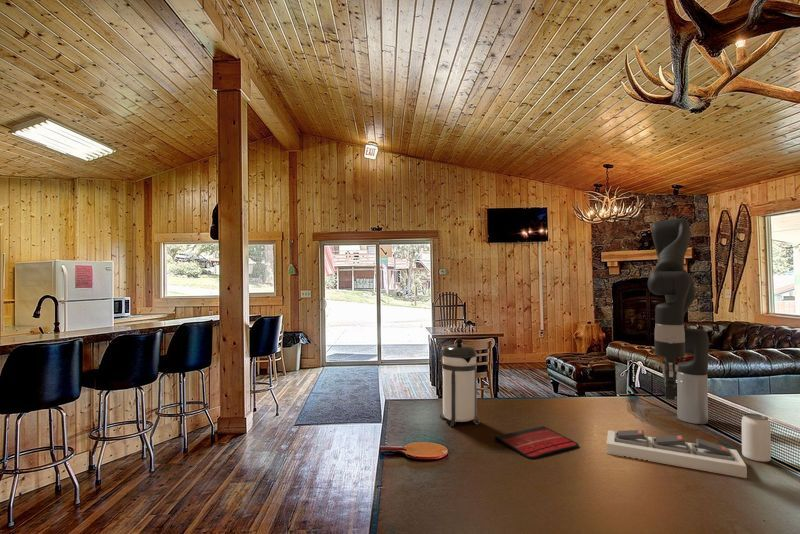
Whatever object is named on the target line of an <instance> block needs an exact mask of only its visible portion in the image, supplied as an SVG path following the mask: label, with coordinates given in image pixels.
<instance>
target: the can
mask: <svg viewBox="0 0 800 534" xmlns="http://www.w3.org/2000/svg"><path fill="white" fill-rule="evenodd" d="M771 431H772V430H771V423H770V421H769V417H768V416H765V415H762V414H758V413H750V412H744V413H743V415H742V417H741V455H742V456H743V457H744V458H745V459H748V460H751V461H754V462H760V463H768V462H770V461H772V460H771V459H772V451H771V449H772V447H771V446H772V444H771V443H772V442H771V439H772V438H771Z"/></svg>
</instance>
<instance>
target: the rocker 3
mask: <svg viewBox="0 0 800 534" xmlns="http://www.w3.org/2000/svg"><path fill="white" fill-rule="evenodd" d="M695 444H697V446H698V447H699V448H702V449H705V450H708V451H711V452H714V453H717V454H720V455H723V456H729V451H728V450H727V449H728V448H727V447H726V446H723V445H721V444H717V443H715V442H711V441H708V440H705V439H701V438H699V437H696V439H695Z"/></svg>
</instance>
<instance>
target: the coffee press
mask: <svg viewBox="0 0 800 534" xmlns="http://www.w3.org/2000/svg"><path fill="white" fill-rule="evenodd" d="M455 342H456V343H454V344H448V345H446V346H444V348H443V349H442V351H441V355H442V362H441V363H442V364H441V368H442V412H441V413H440V415H439V418H440V419H444V418H445V419H447V420H449V421H450V425H449V426H450V428H455V427H456V424H457V422H458V423H459V422H460V423H462V422H463V423H465V422H469V421H472V422H473V423H474V424H475V425H479V424H480V423H481V421H480V418H479V417H478V414H477V413H478V411H477V409H478V407H477V405H478V403H477V402H478V401H477V397H478V396H477V394H478V393H477V383H478V382H477V380H478V379H477V375H478V373H477V368H478V367H477V365H478V363H477V356H478V352H477V351H476V349H475V347H473V346H471V345H469V344H462V343H463V339H462V338H460V337H459V338H457V339H456V340H455ZM442 415H443V416H442ZM475 419H476V420H475Z"/></svg>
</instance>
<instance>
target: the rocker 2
mask: <svg viewBox="0 0 800 534" xmlns="http://www.w3.org/2000/svg"><path fill="white" fill-rule="evenodd" d="M655 438H656V442H657V445H661V446H672V445H686V444H685V442H686V441H685V439H684V436H683V434H682V435H681V434H680V435H666V436H665V435H663V436H655Z"/></svg>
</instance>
